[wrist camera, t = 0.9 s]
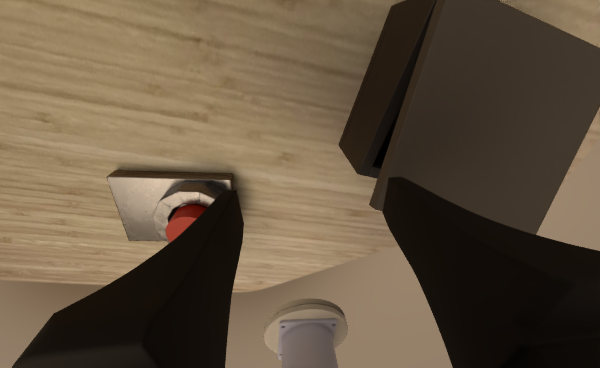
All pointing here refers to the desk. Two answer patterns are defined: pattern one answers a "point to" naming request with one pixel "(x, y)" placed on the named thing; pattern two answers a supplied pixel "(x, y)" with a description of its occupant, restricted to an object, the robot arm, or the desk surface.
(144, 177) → the button block
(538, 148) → the lid
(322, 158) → the desk surface
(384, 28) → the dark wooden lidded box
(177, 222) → the button
